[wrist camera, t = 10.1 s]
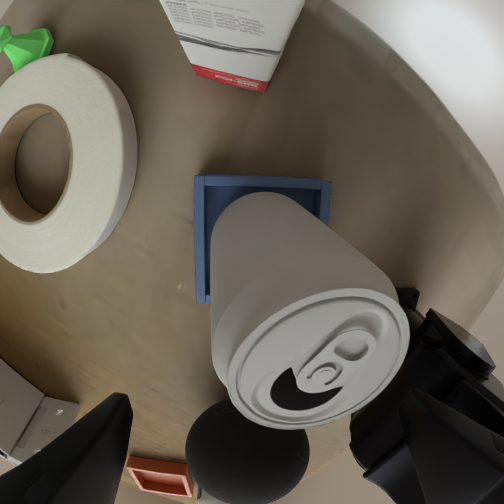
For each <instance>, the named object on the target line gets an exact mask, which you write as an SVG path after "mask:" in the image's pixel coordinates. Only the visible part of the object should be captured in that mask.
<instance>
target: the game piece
mask: <svg viewBox="0 0 504 504" xmlns="http://www.w3.org/2000/svg"><path fill="white" fill-rule="evenodd" d="M53 43H54V40H53V38H52V36H51V33H50V31H49V30H48V29H46V28H41V29H35V30H31V31H30V32H29V33H28V34H19V35H12V33H11V27H10V26H1V25H0V52H1V51H2V50H4V51H5V53H6V54H7V56H8V57H9V58H10V60H11V62H12V65H13V69H14V72H16V71H18V70H19V69H21V68H22V67H24V66H25V65H27V64H29V63H31V62H33V61H35V60H37V59H40V58H43V57H47V56H49V53H50V51H51V48H52V45H53Z"/></svg>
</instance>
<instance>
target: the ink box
mask: <svg viewBox="0 0 504 504" xmlns="http://www.w3.org/2000/svg"><path fill="white" fill-rule="evenodd" d="M159 1H160V3H161V4H162V6H163V8H164V10H165V12H166V15H167V17H168V19H169V21H170V23H171V25H172V27H173V29H174V30H175V33H176V34H177V37H178V39H179V41H180V43H181V45H182V47H183V49H184V51H185V53H186V55H187V57H188V59H189V61H190V63H191V65H192V67H193V69H194V71H195V73H196V75H198V76H201V77H204V78H208V79H212V80H215V81H218V82H222V83H226V84H229V85H233V86H237V87H241V88H244V89H249V90H253V91H257V92H261V93H265V92H266V89H267V87H268V85H269V82H270V80H271V78H272V76H273V73H274V71H275V69H276V66H277V64H278V62H279V60H280V57H281V55H282V53H283V51H284V49H285V46H286V44H287V42H288V40H289V37H290V35H291V33H292V31H293V28H294V26H295V24H296V22H297V20H298V17H299V15H300V13H301V11H302V8H303V6H304V4H305V2H306V0H159Z"/></svg>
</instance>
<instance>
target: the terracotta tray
mask: <svg viewBox="0 0 504 504" xmlns="http://www.w3.org/2000/svg"><path fill="white" fill-rule="evenodd" d="M126 467H127V469H128V470H129V472H130V474H131V475H132V477H133V479H134V480H135V482H136V483H137V485H138V487H139V488H140V490H145V491H149V492H155V493H162V494H169V495H176V496H185V497H193V484H192V480H191V477H190V474H189V470H188V466H187V464H183V463H174V462H166V461H158V460H152V459H146V458H140V457H134V456H129V459H128V462H127V466H126Z"/></svg>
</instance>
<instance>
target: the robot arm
mask: <svg viewBox="0 0 504 504" xmlns="http://www.w3.org/2000/svg"><path fill="white" fill-rule="evenodd" d="M395 290H396V293H397V296H398V300H399V305H400V306H401V307H402V309H403V311H404V312H405V314H406V316H407V319H408V323H409V329H410V339H409V345H408V350H407V353H406V356H405V358H404V361H403V363H402V365H401V367H400V369H399V370H398V372H397V373H396V375H395V376H394V378H393V379H392V380H391V382H390V383H389V384H388V385H387V386H386V387H385V389H384V390H383V391H382V392H381V393H380V394H378V395H377V396H376V397H375V398H374V399H373V400H371V401H370V402H369V403H367V404H366V405H365V406H363V407H362V408H360V409H359V410H357V411H355V412H353V413H352V414H351V422H350V432H351V442H350V444H349V446H350V450H351V451H352V453H353V456H354V458H355V459H356V461H357V463H358V464H359V465H360V466H361V467H362V468H363V469H364V470H365V471H366V472H365V473H364V474H363V477H364V478H365V479H367V480H369V481H370V482H372V483H374V484H376V485H377V486H379V487H380V488H381V489H382V490H384V491H385V492H386V493H387V494H388V495H389V496H390V497H391V498H392V500H393V501H394V502H395V503H396V504H504V387H503V385H502V383H501V382H500V381H499V380H498V379H497V378H496V377H495V376H493V375H492V374H491V373H492V372H493V370H494V369H495V368H496V366H495V364H494V362H493V360H492V359H491V357H490V356H489V354H488V352H487V351H486V349H485V347H484V346H483V345H482V344H481V343H480V342H479V341H478V340H477V339H476V338H475V337H473V336H472V335H471V334H470V333H469V332H468V331H466V330H465V329H464V328H462V327H461V326H459V325H458V324H456V323H454V322H453V321H451V320H450V319H448V318H446V317H445V316H443V315H441V314H440V313H438V312H437V311H435V310H433V309H432V308H430V309H429V311H428V312H427V314H426V318H425V317H424V316H423V315H422V314H421V313H420V312H418V311H417V310H416V306H417V302H418V298H419V294H420V292H419V290H418V289H416V288H414V287H413V288H395ZM413 293H415V294H414V295H413ZM412 295H413V296H412ZM132 420H133V411H132V407H131V404H130V401H129V397H128V395H127V394H123V393H118V392H115V393H113V394H111V395H110V396H109V397H108V398H106V399H105V400H104V401H103V402H101V403H100V404H99V405H98V406H96V407H95V408H94V409H93V410H91V411H90V412H89V413H87V414H86V415H85V416H84V417H82V418H81V419H80V420H78V421H77V422H76V423H75V424H73V425H72V426H71V427H69V428H68V429H67V430H66V431H64V432H63V433H62V434H60V435H59V436H58V437H57V438H55V439H54V440H53V441H51V442H50V443H49V444H47V445H46V446H45V447H43V448H42V449H41V450H40V451H38V452H37V453H35V454H34V455H33V456H31V457H30V458H28V459H27V460H26V461H24V462H23V463H21V464H20V465H18V466H16V467H15V468H14V469H12V470H10V471H8V472H6V473H4V474H2V475H1V476H0V504H114V502H115V498H116V494H117V490H118V486H119V482H120V479H121V475H122V472H123V468H124V464H125V461H126V457H127V451H128V444H129V438H130V432H131V426H132Z"/></svg>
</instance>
